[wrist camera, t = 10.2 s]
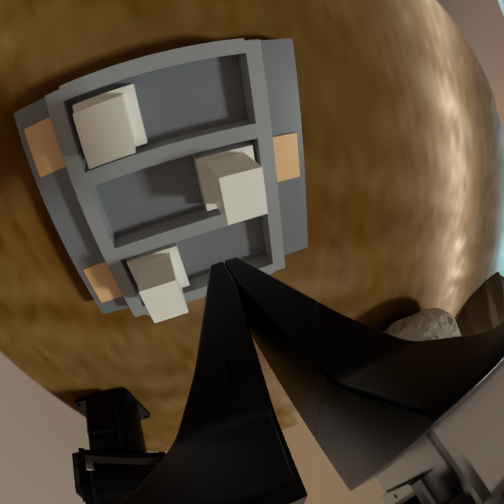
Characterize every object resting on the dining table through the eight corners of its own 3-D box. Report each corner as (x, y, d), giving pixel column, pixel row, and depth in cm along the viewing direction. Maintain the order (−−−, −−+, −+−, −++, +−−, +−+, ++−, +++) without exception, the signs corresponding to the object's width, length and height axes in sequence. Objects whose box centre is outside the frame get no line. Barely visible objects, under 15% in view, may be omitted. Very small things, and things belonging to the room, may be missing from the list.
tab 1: (147, 138, 14) (149, 155, 11) (92, 157, 13) (80, 180, 10) (133, 83, 12) (132, 84, 9) (76, 103, 11) (58, 111, 9)
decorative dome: (441, 353, 58) (465, 381, 51) (456, 308, 46) (489, 342, 38) (489, 307, 59) (513, 331, 52) (508, 255, 47) (539, 282, 39)
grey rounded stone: (318, 390, 40) (351, 445, 32) (379, 294, 32) (436, 357, 24) (394, 366, 47) (425, 406, 40) (449, 287, 39) (491, 328, 31)
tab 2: (187, 275, 19) (198, 313, 16) (143, 289, 19) (148, 329, 16) (174, 237, 17) (183, 272, 15) (126, 252, 17) (127, 290, 14)
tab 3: (253, 189, 18) (278, 215, 15) (203, 203, 17) (219, 233, 14) (246, 140, 16) (272, 158, 13) (192, 154, 15) (206, 174, 12)
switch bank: (298, 238, 23) (315, 258, 21) (104, 301, 20) (104, 328, 18) (280, 38, 14) (302, 34, 12) (22, 107, 11) (3, 114, 9)
